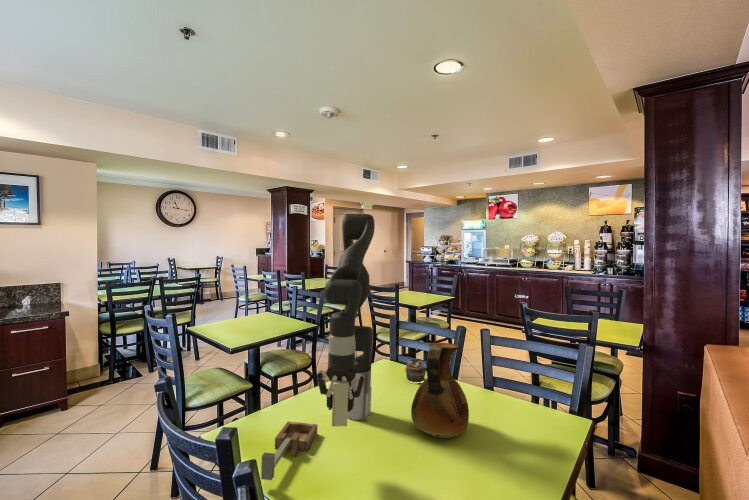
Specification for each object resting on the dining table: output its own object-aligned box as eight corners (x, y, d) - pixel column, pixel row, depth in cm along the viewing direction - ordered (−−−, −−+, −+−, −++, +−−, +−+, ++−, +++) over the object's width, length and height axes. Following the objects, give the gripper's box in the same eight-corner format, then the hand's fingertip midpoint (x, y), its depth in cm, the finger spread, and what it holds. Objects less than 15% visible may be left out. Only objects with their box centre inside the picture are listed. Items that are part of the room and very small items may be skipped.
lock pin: (292, 447, 105) (292, 427, 105) (271, 480, 90) (272, 457, 90) (283, 446, 105) (284, 426, 105) (261, 479, 90) (261, 456, 90)
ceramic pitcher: (472, 423, 128) (475, 341, 127) (461, 452, 109) (465, 357, 109) (420, 411, 136) (423, 334, 135) (402, 436, 118) (405, 347, 117)
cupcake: (404, 383, 162) (405, 362, 162) (406, 375, 172) (406, 355, 172) (425, 385, 161) (426, 364, 161) (425, 377, 170) (426, 357, 170)
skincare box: (332, 415, 102) (333, 374, 102) (347, 415, 103) (348, 374, 102) (331, 427, 96) (332, 383, 96) (347, 427, 96) (348, 383, 96)
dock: (317, 433, 117) (317, 418, 117) (303, 457, 104) (304, 440, 104) (287, 430, 119) (287, 415, 119) (270, 454, 105) (271, 436, 105)
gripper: (313, 352, 96) (311, 413, 96) (364, 356, 94) (362, 418, 95) (320, 344, 103) (319, 401, 104) (368, 347, 102) (367, 405, 102)
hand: (340, 409), depth 99 cm, fingers closed on skincare box, 5 cm apart
